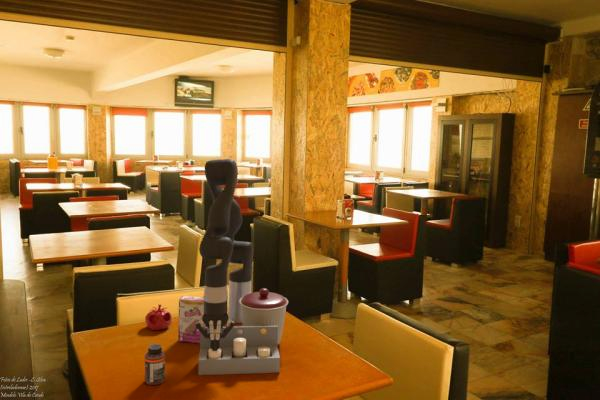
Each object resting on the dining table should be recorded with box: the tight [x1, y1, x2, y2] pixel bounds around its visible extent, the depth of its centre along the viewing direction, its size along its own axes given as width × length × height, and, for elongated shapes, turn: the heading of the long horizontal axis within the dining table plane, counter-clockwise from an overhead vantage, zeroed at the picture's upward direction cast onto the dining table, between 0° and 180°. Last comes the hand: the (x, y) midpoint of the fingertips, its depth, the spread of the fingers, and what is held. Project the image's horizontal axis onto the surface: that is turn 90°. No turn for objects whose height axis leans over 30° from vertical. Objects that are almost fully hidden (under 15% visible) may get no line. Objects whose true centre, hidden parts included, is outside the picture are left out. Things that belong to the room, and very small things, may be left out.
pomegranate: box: [144, 304, 172, 331], centre depth 192 cm, size 10×10×9 cm
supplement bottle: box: [144, 343, 166, 386], centre depth 149 cm, size 6×6×11 cm
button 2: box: [258, 347, 270, 357], centre depth 161 cm, size 4×4×5 cm
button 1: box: [209, 348, 221, 358], centre depth 159 cm, size 4×4×5 cm
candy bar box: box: [177, 295, 207, 344], centre depth 180 cm, size 11×5×16 cm, turn 84°
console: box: [197, 325, 281, 376], centre depth 161 cm, size 10×26×12 cm, turn 98°
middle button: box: [233, 338, 246, 357], centre depth 159 cm, size 4×4×5 cm
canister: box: [239, 287, 289, 346], centre depth 179 cm, size 18×18×21 cm
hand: (214, 349), depth 158 cm, fingers closed
